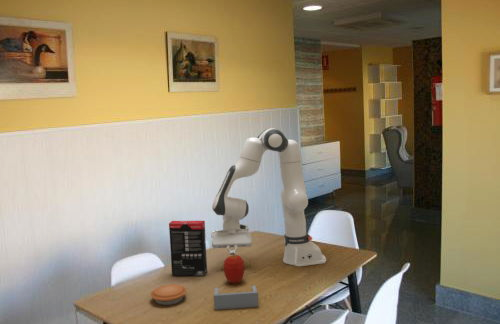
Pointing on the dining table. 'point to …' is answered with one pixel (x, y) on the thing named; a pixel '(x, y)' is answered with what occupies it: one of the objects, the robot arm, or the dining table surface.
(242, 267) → the apple
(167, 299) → the pie
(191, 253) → the graphics card box
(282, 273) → the dining table surface
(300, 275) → the dining table surface
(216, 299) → the frame
